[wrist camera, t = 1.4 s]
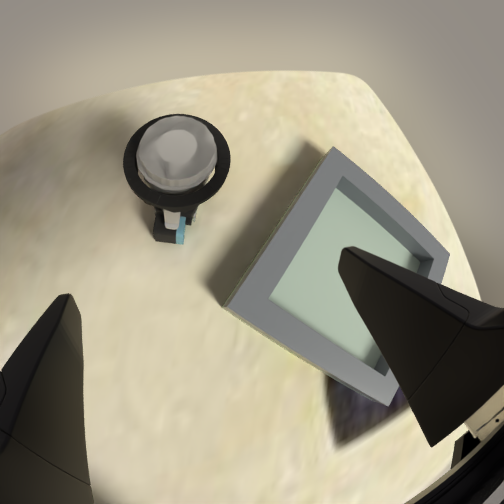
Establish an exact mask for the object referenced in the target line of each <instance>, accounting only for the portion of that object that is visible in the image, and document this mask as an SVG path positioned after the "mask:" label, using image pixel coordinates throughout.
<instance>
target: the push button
mask: <svg viewBox="0 0 504 504" xmlns="http://www.w3.org/2000/svg"><path fill="white" fill-rule="evenodd" d="M214 166H215V174H214V176H213V177H212V178H211V180H210V181H209V182H208V183H207V184H206V182H207V180H208V177H209V175H210V174H211V173H212V171H213V169H214ZM123 167H124V173H125V176H126V179H127V181H128V184H129V186H130V187H131V189H132V190H133V191H134V193H135V194H136V195H137V196H138V197H139V198H141V199H142V200H143V201H144V202H145V203H147V204H149V205H152V206H154V208H155V216H156V218H155V224H154V230H153V234H154V237H155V241H159V242H166V243H174V244H183V242H184V232H185V225H191V222H192V217H193V216H194V222H195V217H196V210H197V207H198V205H199V204H201V203H203V202H205V201H207V200H208V199H210V198H211V197H212V196H214V195H215V194H216V193H217V192H218V190H219V189H220V188H221V187H222V185H223V183H224V182H225V179H226V177H227V174H228V172H229V168H230V151H229V147H228V144H227V142H226V140H225V138H224V137H223V135H222V134H221V133H220V131H219V130H218V129H217V128H216V127H214V126H213V125H212V124H210V123H209V122H207V121H205V120H203V119H201V118H198V117H195V116H192V115H186V114H171V115H165V116H162V117H159V118H156V119H154V120H151V121H150V122H148V123H146V124H145V125H143V126H142V127H141V128H140V129H138V130H137V131H136V132H135V134H134V135H133V136H132V137H131V139H130V141H129V142H128V144H127V147H126V149H125V153H124V158H123ZM138 168H139V171H140V172H141V173H142V175H143V176H144V179H145V183H146V184H144V182H143V181H142V180H141V179H140V177H139V175H138ZM205 184H206V185H205Z"/></svg>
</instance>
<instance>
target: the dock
mask: <svg viewBox="0 0 504 504" xmlns="http://www.w3.org/2000/svg"><path fill="white" fill-rule="evenodd" d="M349 246H355V247H357V248H360V249H362V250H365V251H367V252H369V253H372V254H374V255H376V256H379V257H381V258H383V259H386V260H388V261H390V262H393V263H395V264H397V265H399V266H402V267H404V268H406V269H408V270H411V271H413V272H415V273H417V274H420V275H422V276H424V277H426V278H428V279H431V280H433V281H435V282H436V283H439V284H441V283H442V280H443V276H444V273H445V270H446V266H447V263H448V259H449V256H450V254H449V252H448V251H447V250H446V249H445V248H444V247H443V246H442V245H441V244H440V243H439V242H438V241H437V240H436V238H435V237H434V236H433V235H432V234H431V233H430V232H429V231H428V230H427V229H426V228H425V227H424V226H423V225H422V224H421V223H420V222H419V221H418V220H417V219H416V218H415V217H414V216H413V215H412V214H411V213H410V212H409V211H408V210H407V209H406V208H405V207H403V206H402V205H401V204H400V203H399V202H398V201H397V200H396V199H395V198H394V197H393V196H392V195H391V194H389V193H388V192H387V191H386V190H385V189H384V188H383V187H382V186H381V185H379V184H378V183H377V182H376V181H375V180H374V179H373V178H371V177H370V176H369V175H368V174H367V173H366V172H364V171H363V170H362V169H361V168H360V167H358V166H357V165H356V164H355V163H354V162H352V161H351V160H350V159H349V158H347V157H346V156H345V155H344V154H342V153H341V152H340V151H339V150H337V149H336V148H335V147H334V146H333V147H332V148H331V149H330V150H329V151H328V152H327V153H326V154H325V156H324V157H323V158H322V159H321V160H320V161H319V163H318V164H317V166H316V167H315V169H314V170H313V172H312V173H311V175H310V176H309V178H308V179H307V181H306V182H305V184H304V185H303V187H302V188H301V190H300V191H299V193H298V194H297V196H296V197H295V199H294V200H293V202H292V203H291V205H290V206H289V208H288V209H287V211H286V212H285V214H284V215H283V217H282V218H281V220H280V221H279V223H278V224H277V226H276V227H275V229H274V230H273V232H272V233H271V235H270V236H269V238H268V239H267V241H266V242H265V244H264V245H263V247H262V248H261V250H260V251H259V253H258V254H257V256H256V257H255V259H254V260H253V262H252V263H251V265H250V266H249V268H248V269H247V271H246V272H245V274H244V275H243V277H242V278H241V280H240V281H239V283H238V284H237V286H236V287H235V289H234V290H233V291H232V293H231V294H230V296H229V297H228V299H227V300H226V302H225V303H224V305H223V306H222V308H223V309H225V310H226V311H227V312H229V313H230V314H232V315H233V316H235V317H236V318H238V319H239V320H241V321H242V322H244V323H245V324H247V325H248V326H250V327H251V328H253V329H254V330H256V331H257V332H259V333H260V334H262V335H264V336H265V337H267V338H268V339H270V340H271V341H273V342H274V343H276V344H278V345H279V346H281V347H282V348H284V349H285V350H287V351H289V352H290V353H292V354H293V355H295V356H297V357H298V358H300V359H302V360H303V361H305V362H306V363H308V364H310V365H311V366H313V367H315V368H316V369H318V370H320V371H321V372H323V373H325V374H326V375H328V376H330V377H331V378H333V379H335V380H337V381H338V382H340V383H342V384H343V385H345V386H347V387H349V388H350V389H352V390H354V391H356V392H357V393H359V394H361V395H363V396H365V397H366V398H368V399H370V400H372V401H375V402H378V403H380V404H383V405H386V406H389V404H390V402H391V400H392V398H393V396H394V395H395V393H396V391H397V389H398V387H399V384H398V382H397V380H396V379H395V377H394V375H393V373H392V371H391V369H390V368H389V366H388V364H387V362H386V360H385V359H384V357H383V355H382V353H381V351H380V350H379V348H378V346H377V344H376V343H375V341H374V339H373V337H372V336H371V334H370V332H369V330H368V329H367V327H366V325H365V324H364V322H363V320H362V319H361V317H360V315H359V313H358V312H357V310H356V308H355V306H354V304H353V302H352V300H351V298H350V296H349V294H348V292H347V290H346V287H345V285H344V283H343V281H342V279H341V277H340V275H339V273H338V263H339V259H340V255H341V251H342V249H343V248H344V247H349Z"/></svg>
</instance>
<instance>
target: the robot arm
mask: <svg viewBox="0 0 504 504" xmlns="http://www.w3.org/2000/svg"><path fill="white" fill-rule="evenodd" d="M338 273H339V275H340V277H341V279H342V281H343V283H344V285H345V287H346V290H347V292H348V294H349V296H350V298H351V300H352V302H353V304H354V306H355V308H356V310H357V312H358V313H359V315H360V317H361V319H362V320H363V322H364V324H365V325H366V327H367V329H368V330H369V332H370V334H371V336H372V337H373V339H374V341H375V343H376V344H377V346H378V348H379V350H380V351H381V353H382V355H383V357H384V359H385V360H386V362H387V364H388V366H389V368H390V369H391V371H392V373H393V375H394V377H395V379H396V380H397V382H398V384H399V386H400V388H401V390H402V392H403V394H404V395H405V397H406V399H407V400H408V403H409V405H410V407H411V409H412V411H413V413H414V415H415V417H416V419H417V421H418V423H419V425H420V427H421V429H422V431H423V433H424V435H425V437H426V439H427V441H428V443H429V445H430V447H431V448H432V447H433V446H435V445H436V444H437V443H439V442H440V441H441V440H443V439H444V438H445V437H446V436H448V435H449V434H450V433H452V432H453V431H454V430H455V429H457V428H458V427H459V426H460V425H461V424H463V423H464V424H465V425H466V427H467V428H468V431H467V432H466V433H465V434H463V435H462V436H461V437H460V438H459V439H458V440H456V441H455V445H454V452H453V458H452V464H451V470H450V471H448V472H447V473H446V474H445V475H443V476H442V477H441V478H440V479H438V480H437V481H436V482H434V483H433V484H432V485H430V486H429V487H428V488H426V489H425V490H424V491H422V492H421V493H419V494H418V495H416V496H415V497H414V498H412V499H411V500H409V501H408V502H406V503H404V504H504V308H498V307H494V306H491V305H489V304H486V303H484V302H482V301H479V300H477V299H474V298H472V297H469V296H467V295H464V294H462V293H460V292H457V291H455V290H453V289H450V288H448V287H446V286H444V285H442V284H439V283H436V282H435V281H433V280H431V279H428V278H426V277H424V276H422V275H420V274H417V273H415V272H413V271H411V270H408V269H406V268H404V267H402V266H399V265H397V264H395V263H393V262H390V261H388V260H386V259H383V258H381V257H379V256H376V255H374V254H372V253H369V252H367V251H365V250H362V249H360V248H357V247H355V246H349V247H344V248H343V249H342V251H341V255H340V259H339V263H338ZM83 370H84V361H83V345H82V322H81V314H80V312H79V309H78V307H77V305H76V303H75V301H74V298H73V296H72V295H71V294H69V293H68V294H61V295H59V296H58V297H57V298H56V299H55V300H54V301H53V302H52V304H51V305H50V306H49V307H48V308H47V310H46V311H45V312H44V313H43V315H42V316H41V317H40V318H39V320H38V321H37V322H36V323H35V325H34V326H33V327H32V328H31V330H30V331H29V332H28V334H27V335H26V336H25V338H24V339H23V340H22V342H21V343H20V344H19V346H18V347H17V348H16V350H15V351H14V352H13V354H12V355H11V357H10V358H9V359H8V361H7V362H6V364H5V365H4V367H3V368H2V370H1V371H2V372H1V371H0V504H94V501H93V496H92V490H91V486H90V485H91V484H90V478H89V470H88V462H87V452H86V441H85V427H84V402H83Z"/></svg>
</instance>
